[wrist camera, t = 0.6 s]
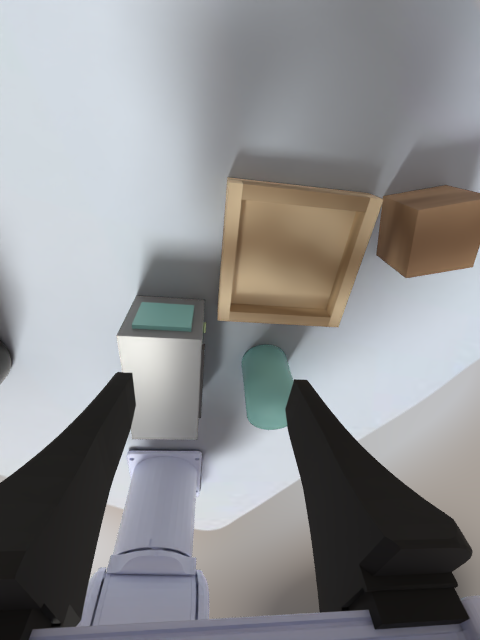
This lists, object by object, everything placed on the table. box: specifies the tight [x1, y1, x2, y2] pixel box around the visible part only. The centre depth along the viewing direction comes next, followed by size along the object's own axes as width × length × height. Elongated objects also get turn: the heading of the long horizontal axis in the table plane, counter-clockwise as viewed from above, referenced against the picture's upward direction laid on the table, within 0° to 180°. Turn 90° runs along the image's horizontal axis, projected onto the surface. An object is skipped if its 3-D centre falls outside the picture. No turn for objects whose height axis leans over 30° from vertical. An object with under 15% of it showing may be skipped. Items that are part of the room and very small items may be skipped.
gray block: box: [117, 296, 206, 440], centre depth 22 cm, size 10×5×5 cm, turn 174°
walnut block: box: [376, 185, 480, 278], centre depth 18 cm, size 4×4×4 cm
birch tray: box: [218, 177, 384, 327], centre depth 19 cm, size 9×9×2 cm
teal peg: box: [242, 345, 293, 430], centre depth 23 cm, size 4×4×6 cm
